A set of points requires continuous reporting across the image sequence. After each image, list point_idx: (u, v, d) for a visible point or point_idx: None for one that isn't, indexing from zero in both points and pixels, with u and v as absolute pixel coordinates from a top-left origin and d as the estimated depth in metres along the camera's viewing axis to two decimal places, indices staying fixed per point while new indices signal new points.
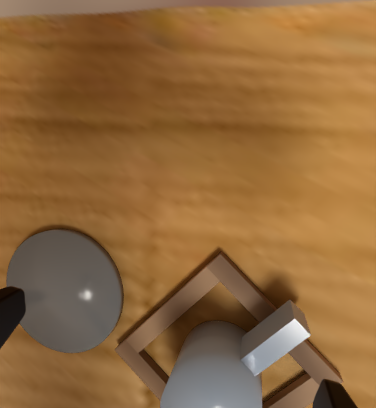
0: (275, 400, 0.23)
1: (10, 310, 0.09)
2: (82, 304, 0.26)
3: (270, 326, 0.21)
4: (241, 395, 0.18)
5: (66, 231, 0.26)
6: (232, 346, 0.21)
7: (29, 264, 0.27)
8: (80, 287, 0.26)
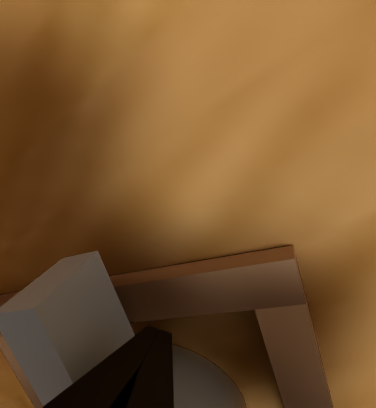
0: None
1: None
2: None
3: None
4: None
5: None
6: None
7: None
8: None
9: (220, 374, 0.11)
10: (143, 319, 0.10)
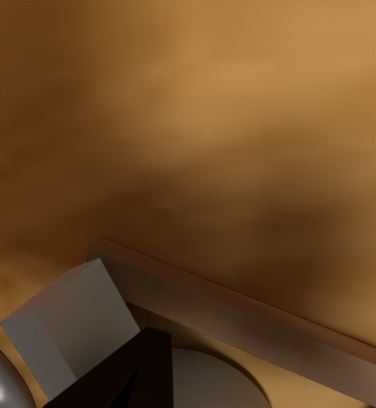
0: None
1: None
2: None
3: None
4: None
5: None
6: None
7: None
8: None
9: (238, 376, 0.11)
10: (281, 365, 0.10)
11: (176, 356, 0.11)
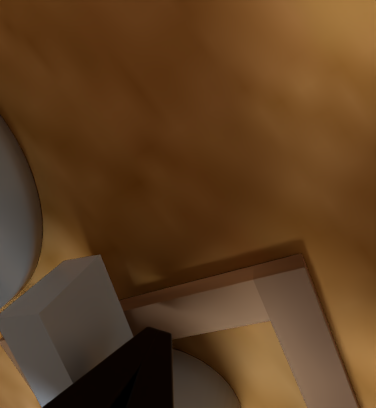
0: None
1: None
2: None
3: None
4: None
5: None
6: None
7: None
8: None
9: (217, 378, 0.11)
10: None
11: None
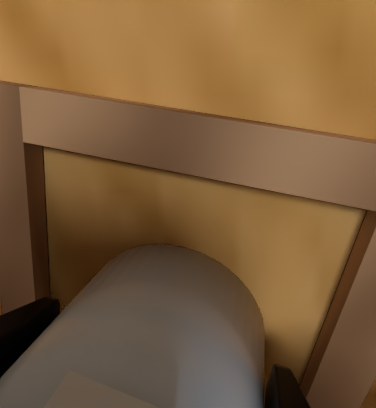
0: None
1: (47, 322, 0.09)
2: None
3: None
4: None
5: None
6: None
7: None
8: None
9: None
10: (30, 255, 0.10)
11: None
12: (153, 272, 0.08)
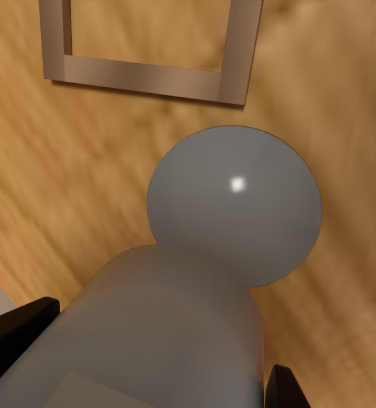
0: None
1: (47, 321, 0.09)
2: (219, 182, 0.19)
3: None
4: None
5: None
6: None
7: (224, 266, 0.21)
8: (201, 196, 0.19)
9: None
10: None
11: None
12: (153, 272, 0.08)
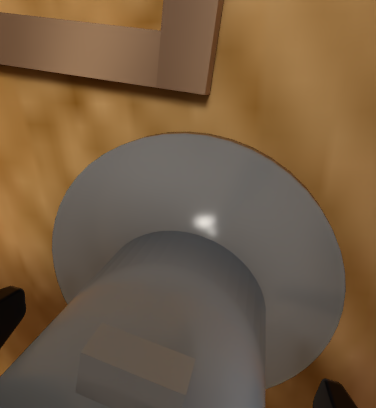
0: None
1: (10, 310, 0.09)
2: (166, 230, 0.11)
3: None
4: None
5: None
6: None
7: None
8: None
9: None
10: None
11: None
12: (165, 253, 0.09)
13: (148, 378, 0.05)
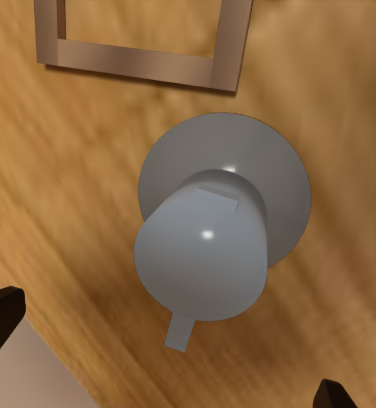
0: None
1: (10, 310, 0.09)
2: None
3: None
4: (183, 307, 0.15)
5: None
6: None
7: None
8: None
9: None
10: None
11: None
12: (214, 176, 0.17)
13: (224, 196, 0.13)
